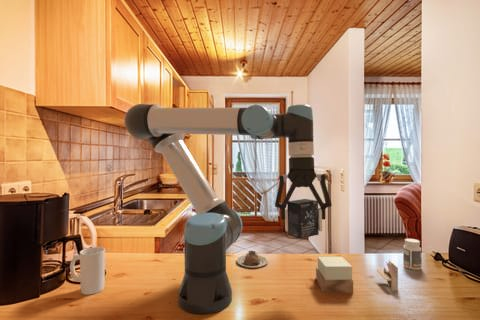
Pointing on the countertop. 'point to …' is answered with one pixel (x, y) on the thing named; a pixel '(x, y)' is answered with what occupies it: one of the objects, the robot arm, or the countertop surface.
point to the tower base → (334, 284)
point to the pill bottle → (412, 254)
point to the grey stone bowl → (252, 260)
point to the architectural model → (390, 275)
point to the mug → (90, 269)
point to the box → (302, 218)
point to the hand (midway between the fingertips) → (303, 230)
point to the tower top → (334, 268)
